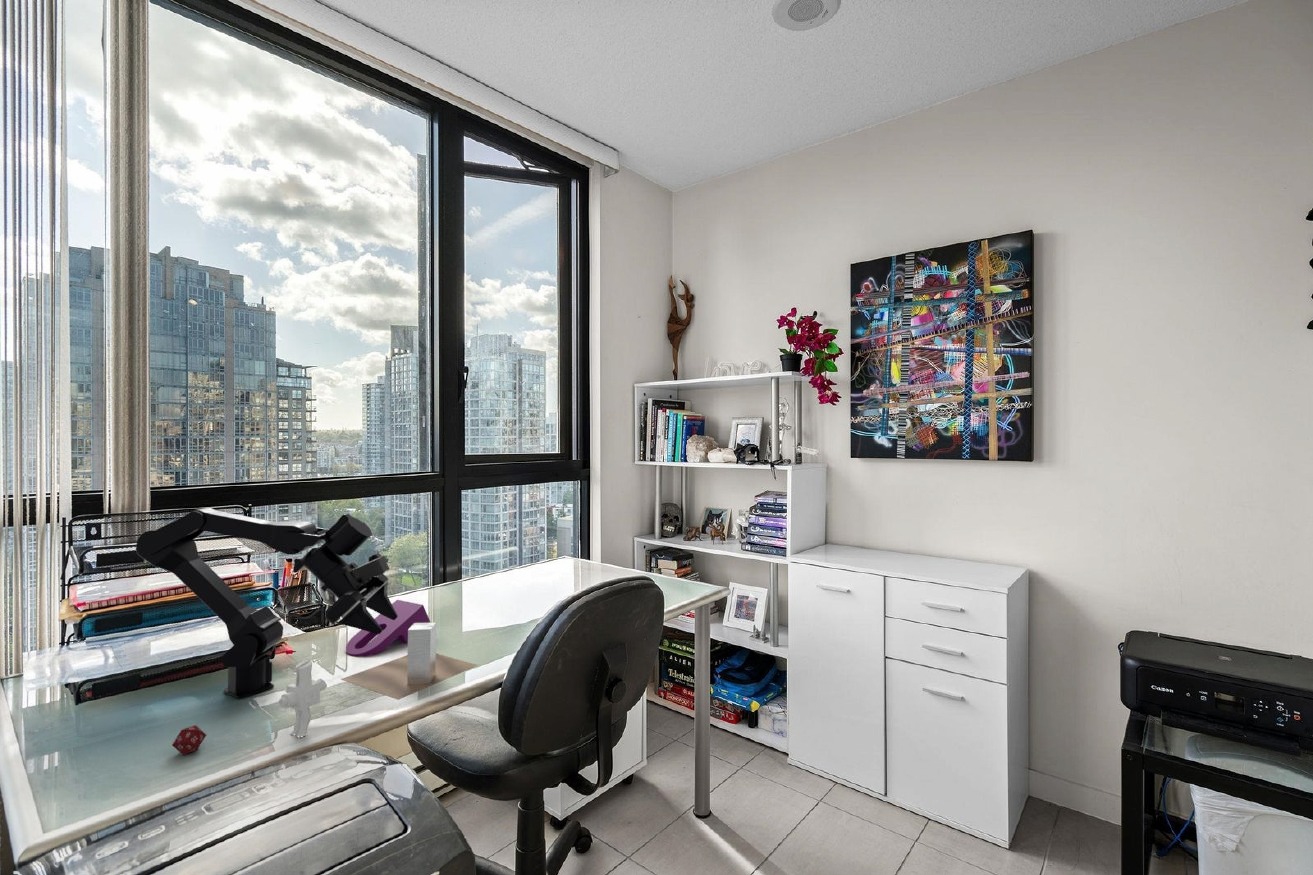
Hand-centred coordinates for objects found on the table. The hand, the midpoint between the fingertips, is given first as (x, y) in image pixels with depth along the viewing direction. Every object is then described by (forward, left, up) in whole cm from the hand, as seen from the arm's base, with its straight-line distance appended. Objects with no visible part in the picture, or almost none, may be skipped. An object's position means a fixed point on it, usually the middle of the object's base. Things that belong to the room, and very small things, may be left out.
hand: (388, 625), depth 122 cm
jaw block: (+4, -5, -11) cm, 13 cm away
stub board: (+5, 0, -12) cm, 14 cm away
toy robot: (-20, -4, -13) cm, 24 cm away
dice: (-33, +5, -13) cm, 35 cm away
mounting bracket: (+14, +20, -13) cm, 27 cm away
